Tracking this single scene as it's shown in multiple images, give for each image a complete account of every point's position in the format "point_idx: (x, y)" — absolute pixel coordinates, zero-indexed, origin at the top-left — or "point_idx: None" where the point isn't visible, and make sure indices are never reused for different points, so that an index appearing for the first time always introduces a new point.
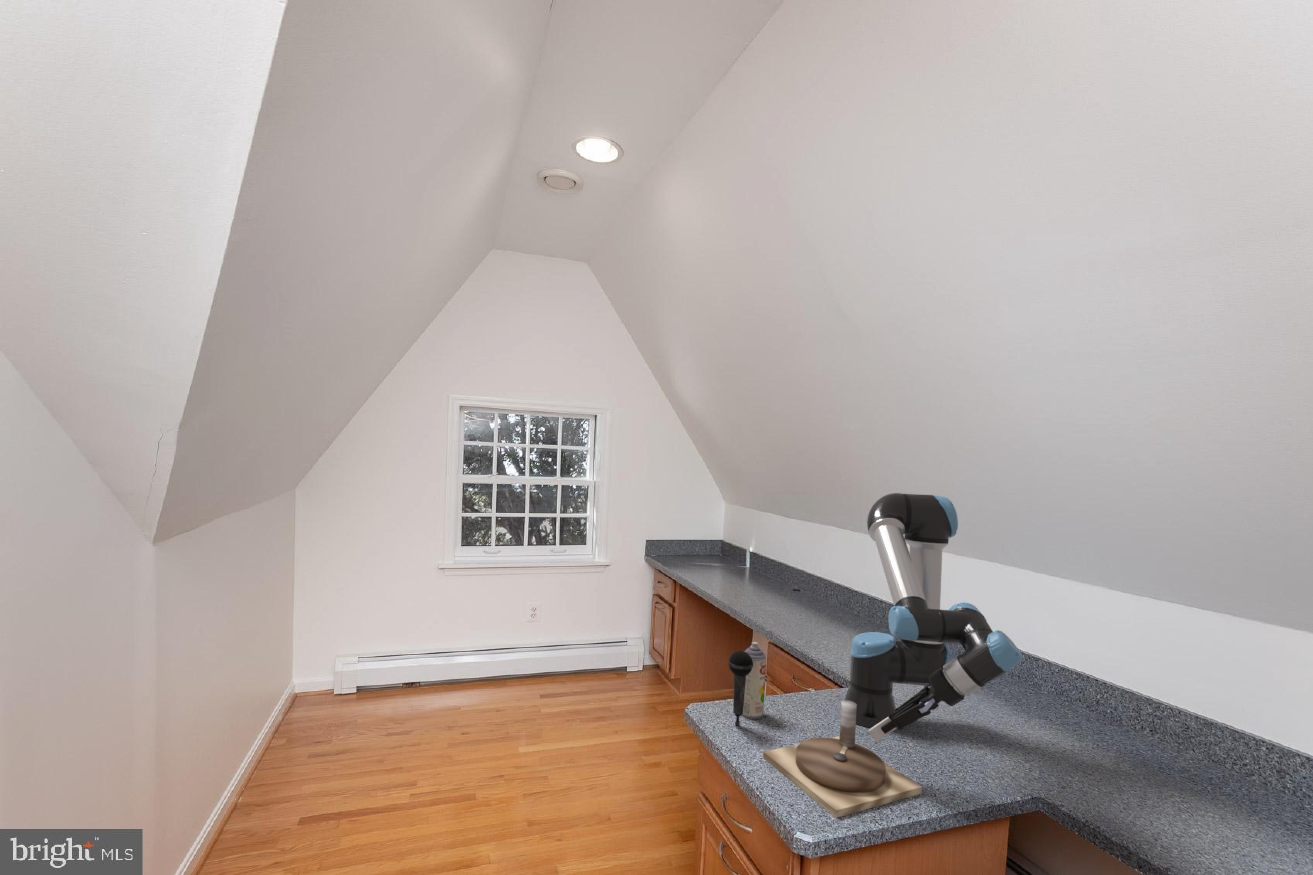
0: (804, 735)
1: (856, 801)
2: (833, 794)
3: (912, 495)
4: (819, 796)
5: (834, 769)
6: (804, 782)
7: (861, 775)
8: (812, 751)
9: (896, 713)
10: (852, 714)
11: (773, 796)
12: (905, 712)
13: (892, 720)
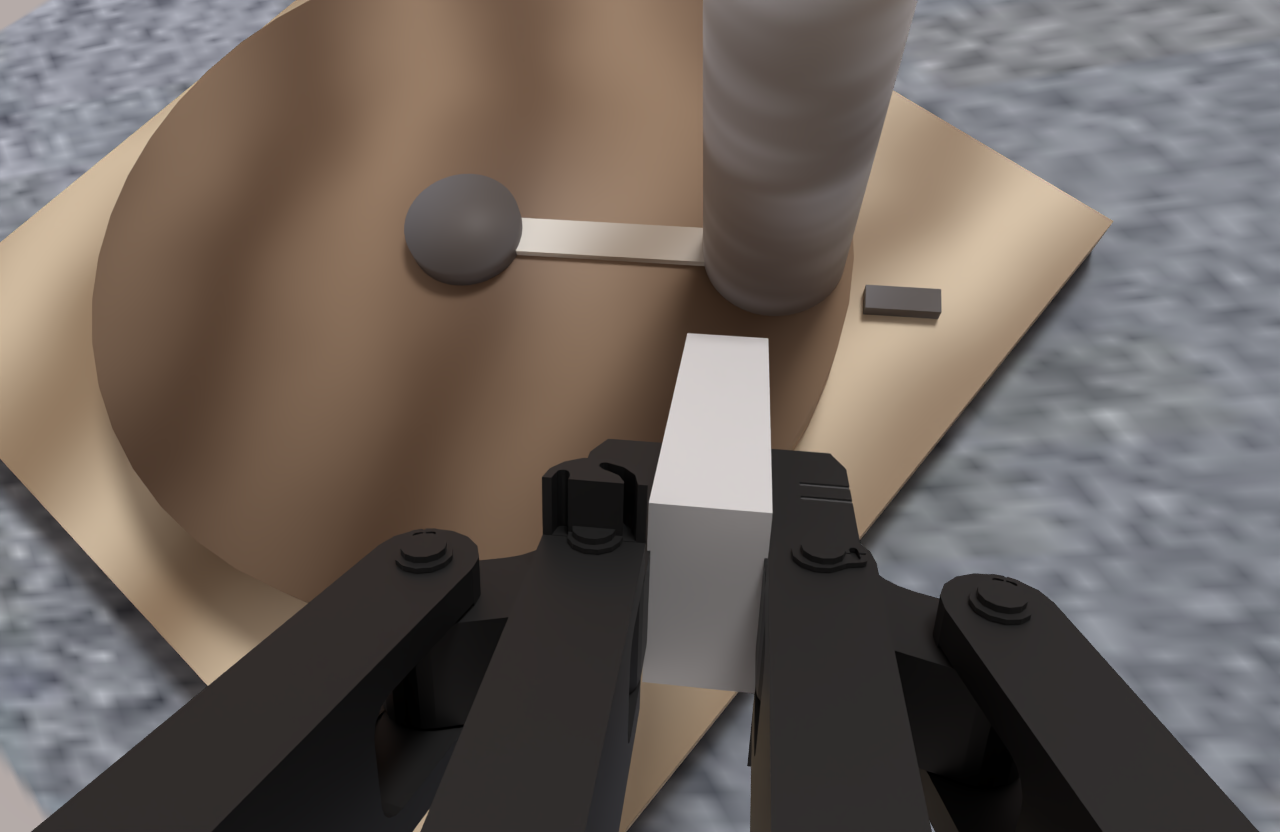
0: (991, 11)
1: (37, 444)
2: (88, 292)
3: None
4: (34, 219)
5: (259, 224)
6: None
7: (239, 423)
8: (486, 47)
9: (766, 612)
10: (722, 54)
11: (68, 24)
12: (69, 808)
13: (386, 550)
